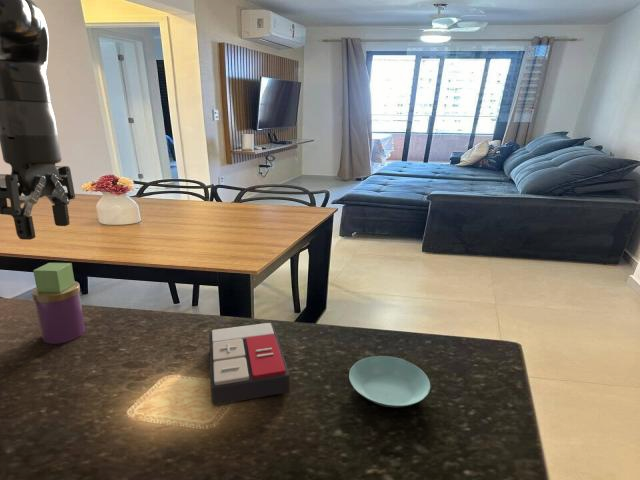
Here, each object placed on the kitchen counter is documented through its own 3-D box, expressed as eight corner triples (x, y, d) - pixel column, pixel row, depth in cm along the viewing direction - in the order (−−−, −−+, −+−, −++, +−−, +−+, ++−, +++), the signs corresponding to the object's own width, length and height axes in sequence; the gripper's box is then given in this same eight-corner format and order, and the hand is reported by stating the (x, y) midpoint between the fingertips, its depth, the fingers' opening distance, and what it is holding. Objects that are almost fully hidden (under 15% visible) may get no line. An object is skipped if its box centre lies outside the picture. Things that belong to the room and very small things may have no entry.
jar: (35, 335, 69) (25, 288, 67) (77, 321, 74) (70, 277, 72) (49, 349, 65) (39, 300, 62) (93, 333, 70) (85, 287, 68)
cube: (37, 292, 65) (32, 270, 64) (53, 283, 69) (49, 262, 68) (60, 292, 65) (56, 271, 64) (75, 283, 69) (71, 263, 68)
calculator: (210, 384, 51) (208, 326, 65) (212, 409, 53) (210, 348, 66) (290, 371, 54) (272, 318, 68) (290, 395, 56) (273, 339, 69)
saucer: (342, 368, 62) (343, 356, 61) (413, 366, 63) (414, 353, 63) (356, 421, 51) (357, 407, 50) (441, 417, 52) (443, 403, 51)
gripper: (37, 131, 67) (52, 221, 71) (-37, 131, 53) (-12, 243, 57) (80, 132, 67) (92, 222, 71) (18, 133, 53) (38, 245, 57)
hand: (46, 231), depth 64 cm, fingers open, 8 cm apart
